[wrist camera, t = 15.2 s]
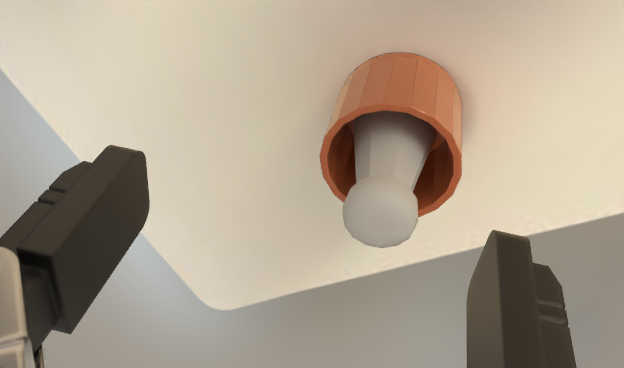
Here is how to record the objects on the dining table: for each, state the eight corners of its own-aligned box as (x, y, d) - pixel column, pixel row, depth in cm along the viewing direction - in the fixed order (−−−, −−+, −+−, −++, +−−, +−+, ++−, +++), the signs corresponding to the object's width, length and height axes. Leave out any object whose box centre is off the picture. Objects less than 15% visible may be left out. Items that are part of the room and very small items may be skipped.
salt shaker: (372, 152, 45) (345, 270, 34) (347, 88, 42) (310, 196, 32) (447, 136, 42) (441, 257, 32) (426, 67, 40) (413, 176, 29)
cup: (401, 26, 39) (390, 74, 33) (488, 114, 41) (492, 173, 35) (315, 104, 44) (292, 159, 38) (397, 178, 46) (388, 240, 41)
